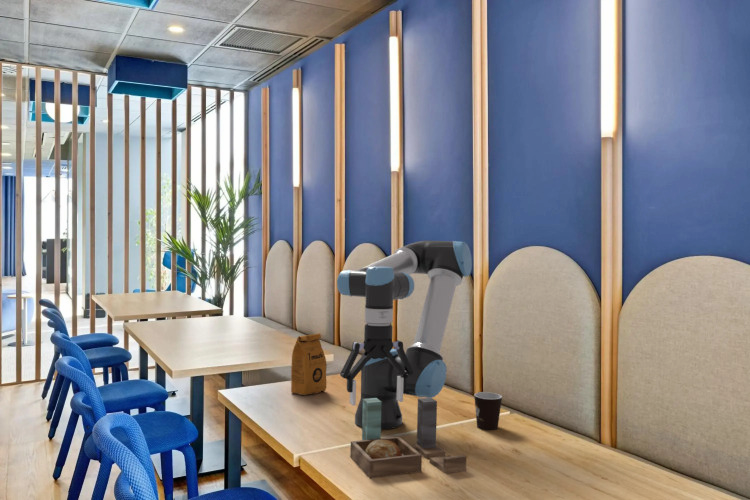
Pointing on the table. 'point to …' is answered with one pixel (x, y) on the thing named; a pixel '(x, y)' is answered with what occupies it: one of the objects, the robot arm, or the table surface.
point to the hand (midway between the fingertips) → (376, 402)
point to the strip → (449, 463)
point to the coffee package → (308, 366)
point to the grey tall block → (427, 429)
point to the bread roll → (382, 449)
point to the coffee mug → (487, 410)
